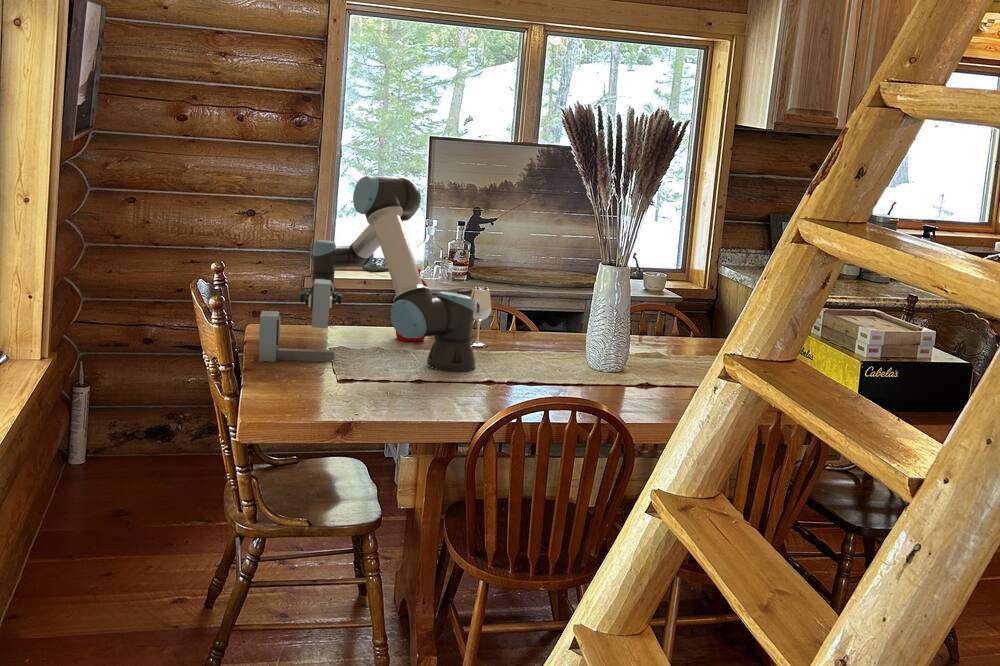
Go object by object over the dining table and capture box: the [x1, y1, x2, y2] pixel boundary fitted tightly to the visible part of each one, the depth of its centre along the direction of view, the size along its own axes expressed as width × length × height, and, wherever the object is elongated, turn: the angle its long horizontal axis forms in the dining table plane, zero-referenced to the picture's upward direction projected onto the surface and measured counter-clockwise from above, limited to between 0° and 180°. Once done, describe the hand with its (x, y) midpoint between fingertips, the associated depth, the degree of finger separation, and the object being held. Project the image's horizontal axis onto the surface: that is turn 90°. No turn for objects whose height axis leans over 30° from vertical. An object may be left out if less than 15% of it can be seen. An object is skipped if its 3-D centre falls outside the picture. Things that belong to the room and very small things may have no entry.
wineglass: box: [471, 286, 492, 346], centre depth 361 cm, size 8×8×20 cm
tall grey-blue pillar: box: [310, 279, 331, 329], centre depth 331 cm, size 9×6×14 cm, turn 9°
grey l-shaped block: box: [258, 310, 335, 363], centre depth 322 cm, size 22×9×14 cm, turn 98°
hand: (320, 303), depth 326 cm, fingers closed on tall grey-blue pillar, 6 cm apart
